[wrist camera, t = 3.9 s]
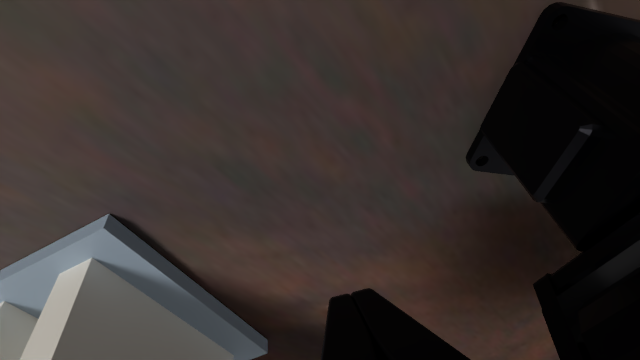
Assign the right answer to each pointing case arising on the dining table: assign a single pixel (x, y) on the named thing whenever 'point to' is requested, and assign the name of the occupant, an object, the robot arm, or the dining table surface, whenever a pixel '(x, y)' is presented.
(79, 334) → the domino
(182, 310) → the board
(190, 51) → the dining table surface
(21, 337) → the domino
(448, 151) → the dining table surface
